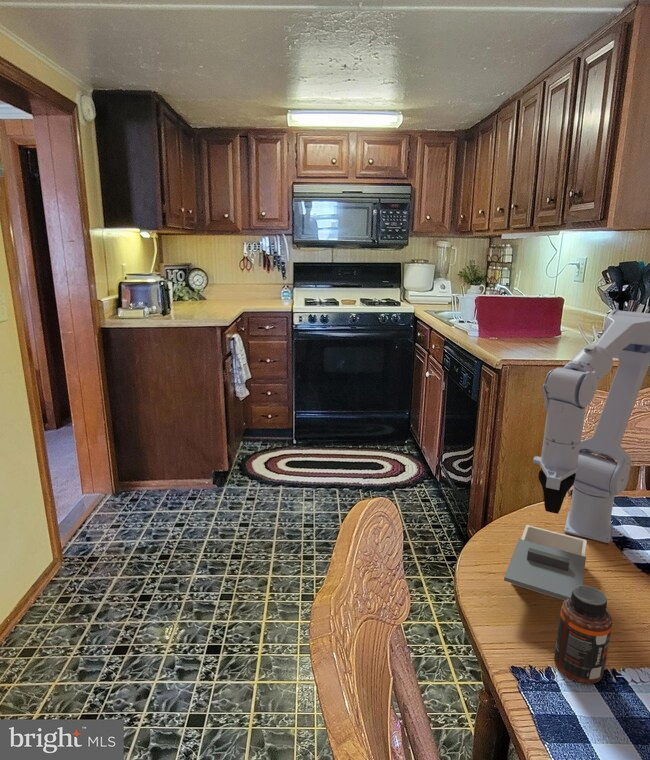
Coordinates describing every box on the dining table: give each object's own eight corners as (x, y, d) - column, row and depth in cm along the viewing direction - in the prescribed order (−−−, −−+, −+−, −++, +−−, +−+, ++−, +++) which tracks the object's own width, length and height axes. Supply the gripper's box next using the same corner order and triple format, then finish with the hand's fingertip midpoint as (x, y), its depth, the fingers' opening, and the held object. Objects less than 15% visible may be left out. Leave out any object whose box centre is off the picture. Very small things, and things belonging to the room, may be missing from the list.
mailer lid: (518, 541, 87) (519, 530, 87) (585, 560, 82) (587, 548, 82) (503, 580, 77) (505, 568, 76) (579, 604, 72) (582, 591, 71)
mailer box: (523, 548, 95) (526, 524, 94) (582, 565, 90) (586, 540, 89) (511, 583, 85) (514, 557, 83) (577, 604, 80) (581, 576, 79)
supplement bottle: (609, 690, 64) (623, 613, 61) (559, 682, 65) (570, 606, 63) (594, 655, 70) (607, 583, 67) (548, 647, 71) (559, 577, 68)
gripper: (542, 422, 94) (534, 489, 98) (530, 447, 82) (521, 522, 86) (584, 429, 91) (574, 498, 94) (578, 456, 79) (567, 534, 82)
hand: (552, 510), depth 90 cm, fingers closed
